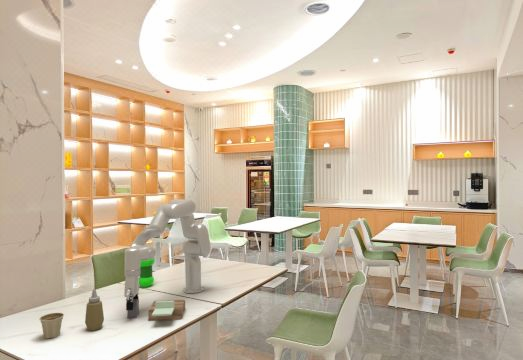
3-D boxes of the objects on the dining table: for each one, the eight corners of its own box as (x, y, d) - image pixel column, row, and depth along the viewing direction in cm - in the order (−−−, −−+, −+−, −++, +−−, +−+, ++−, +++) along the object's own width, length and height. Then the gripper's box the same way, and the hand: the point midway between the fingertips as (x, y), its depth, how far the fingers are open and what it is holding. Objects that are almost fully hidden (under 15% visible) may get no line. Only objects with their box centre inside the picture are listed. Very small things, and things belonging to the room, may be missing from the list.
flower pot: (68, 331, 161) (68, 312, 161) (57, 340, 152) (56, 320, 152) (47, 331, 161) (47, 312, 161) (34, 340, 151) (34, 320, 151)
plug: (130, 314, 180) (129, 299, 180) (139, 314, 180) (138, 298, 180) (127, 318, 175) (127, 302, 175) (136, 317, 176) (136, 301, 176)
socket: (154, 310, 186) (154, 300, 186) (185, 308, 187) (185, 299, 187) (148, 320, 172) (148, 310, 172) (181, 319, 173) (181, 308, 173)
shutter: (155, 309, 173) (155, 301, 173) (174, 308, 173) (174, 300, 173) (151, 316, 164) (151, 308, 164) (171, 315, 164) (171, 307, 164)
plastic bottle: (156, 284, 235) (156, 246, 235) (150, 288, 224) (149, 249, 225) (142, 283, 236) (141, 246, 236) (135, 288, 225) (134, 249, 226)
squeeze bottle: (83, 333, 159) (82, 293, 159) (87, 326, 166) (86, 287, 167) (102, 330, 161) (102, 291, 161) (105, 323, 169) (105, 286, 169)
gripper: (129, 268, 186) (129, 301, 186) (119, 277, 169) (119, 313, 169) (144, 268, 187) (144, 301, 186) (135, 276, 170) (135, 312, 169)
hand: (132, 306), depth 177 cm, fingers open, 9 cm apart
